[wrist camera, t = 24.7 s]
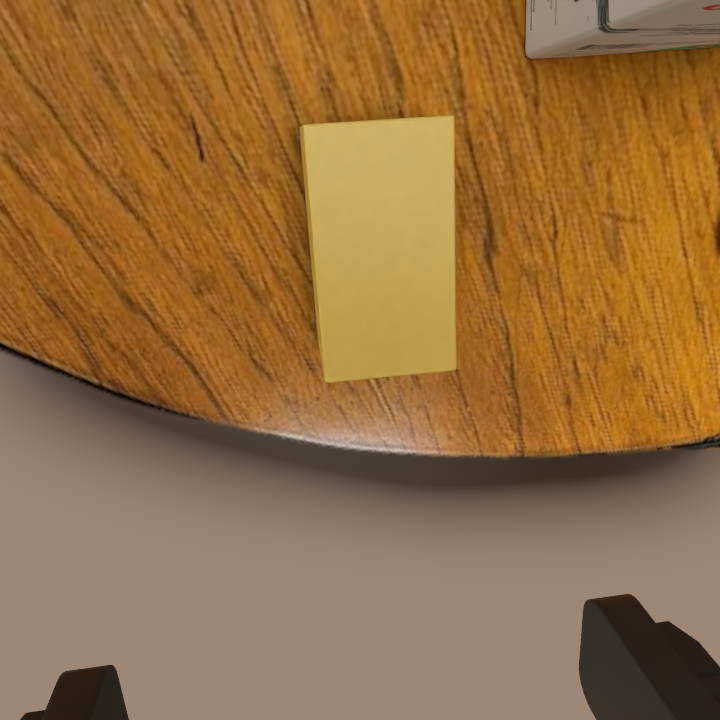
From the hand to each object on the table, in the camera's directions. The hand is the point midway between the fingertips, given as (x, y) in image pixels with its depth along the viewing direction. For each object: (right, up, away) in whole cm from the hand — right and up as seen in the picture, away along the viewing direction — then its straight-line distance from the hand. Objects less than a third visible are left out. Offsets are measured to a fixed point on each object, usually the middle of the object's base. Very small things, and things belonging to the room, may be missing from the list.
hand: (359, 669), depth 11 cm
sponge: (0, +11, +16) cm, 19 cm away
